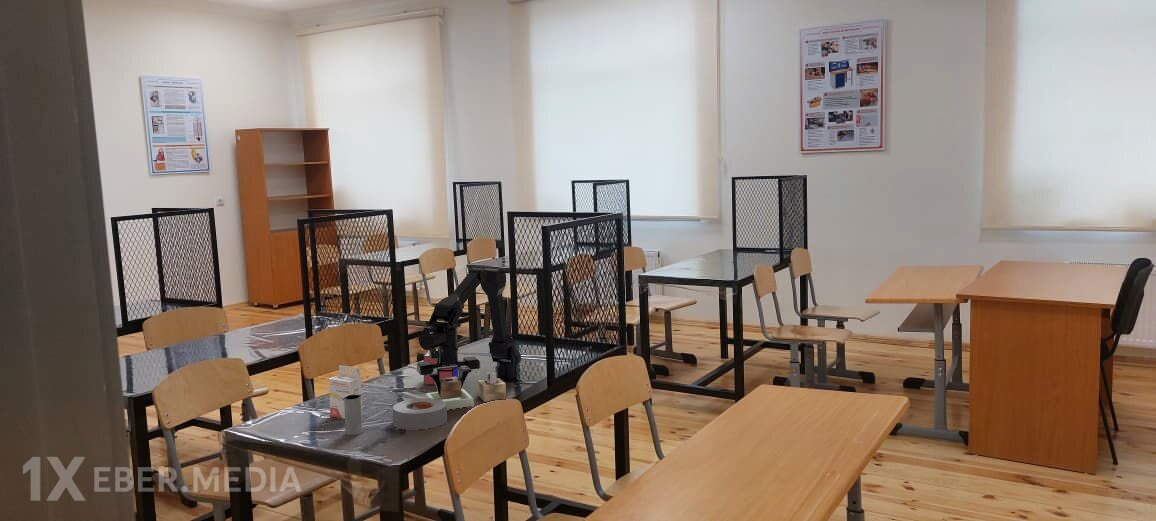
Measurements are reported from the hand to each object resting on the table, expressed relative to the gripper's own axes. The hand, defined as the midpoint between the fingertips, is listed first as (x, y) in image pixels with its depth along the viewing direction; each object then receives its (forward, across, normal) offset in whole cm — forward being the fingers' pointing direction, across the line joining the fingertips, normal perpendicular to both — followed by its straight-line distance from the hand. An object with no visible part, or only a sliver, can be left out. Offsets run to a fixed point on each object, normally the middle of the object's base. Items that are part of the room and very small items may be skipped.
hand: (449, 392), depth 250 cm
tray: (+4, 0, 0) cm, 4 cm away
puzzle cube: (+4, -4, -27) cm, 27 cm away
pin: (+4, -14, -1) cm, 14 cm away
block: (+1, 0, 0) cm, 1 cm away
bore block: (+4, -14, -1) cm, 14 cm away
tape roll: (+4, +12, +13) cm, 18 cm away
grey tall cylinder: (+4, +31, +15) cm, 35 cm away
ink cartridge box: (+4, +31, -1) cm, 31 cm away
